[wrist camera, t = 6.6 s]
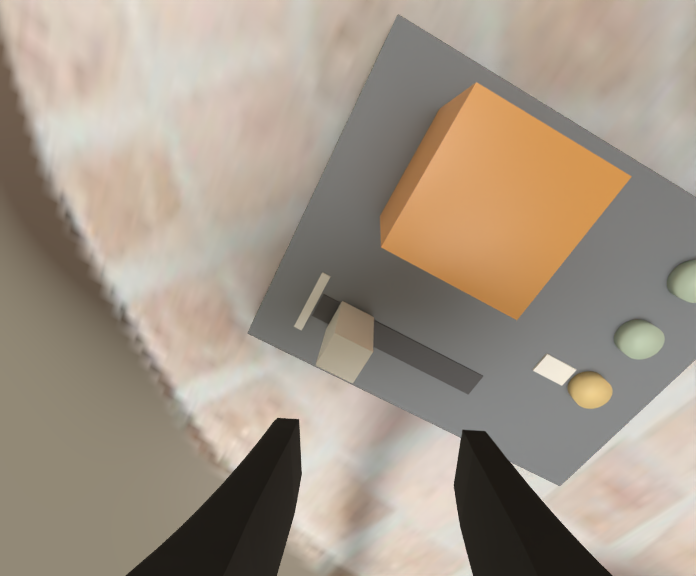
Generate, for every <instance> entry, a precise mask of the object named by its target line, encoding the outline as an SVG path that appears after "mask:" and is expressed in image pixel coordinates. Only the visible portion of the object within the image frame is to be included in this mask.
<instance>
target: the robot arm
mask: <svg viewBox="0 0 696 576" xmlns="http://www.w3.org/2000/svg"><path fill="white" fill-rule="evenodd" d="M301 475H302V471H301V450H300V429H299V419H286V418H277V419H276V420H275V421H274V422H273V423H272V425H271V426H270V427H269V429H268V430H267V431H266V432H265V434H264V435H263V436H262V438H261V439H260V440H259V441H258V443H257V444H256V445H255V446H254V448H253V449H252V450H251V451H250V453H249V454H248V455H247V456H246V457H245V459H244V460H243V461H242V462H241V463H240V464H239V466H238V467H237V468H236V469H235V470H234V471H233V472H232V474H231V475H230V476H229V477H228V478H227V479H226V480H225V482H224V483H223V484H222V485H221V486H220V487H219V488H218V489H217V490H216V491H215V492H214V493H213V494H212V496H211V497H210V498H209V499H208V500H207V501H206V502H205V503H204V504H203V505H202V506H201V507H200V508H199V509H198V510H197V511H196V512H195V513H194V514H193V515H192V516H191V517H190V518H189V519H188V520H187V521H186V522H185V523H184V524H183V525H182V526H181V527H180V528H179V529H178V530H177V531H176V532H175V533H173V534H172V535H171V536H170V537H169V538H168V539H167V540H166V541H165V542H164V543H163V544H162V545H161V546H159V547H158V548H157V549H156V550H155V551H154V552H153V553H151V554H150V555H149V556H148V557H147V558H146V559H144V560H143V561H142V562H141V563H140V564H139V565H137V566H136V567H135V568H134V569H133V570H132V571H131V572H129V573H128V574H127V575H126V576H277V573H278V569H279V566H280V562H281V559H282V556H283V552H284V549H285V545H286V542H287V538H288V535H289V531H290V528H291V524H292V521H293V517H294V513H295V508H296V503H297V498H298V492H299V487H300V481H301ZM454 490H455V497H456V504H457V510H458V516H459V522H460V527H461V531H462V535H463V539H464V543H465V547H466V551H467V554H468V558H469V562H470V566H471V570H472V573H473V576H612V575H611V574H610V573H609V572H608V571H607V570H606V569H605V568H604V567H603V566H602V565H601V564H600V563H599V562H598V561H597V560H596V559H595V558H594V557H593V556H592V555H591V554H590V553H589V552H588V551H587V550H586V549H585V548H584V546H583V545H582V544H581V543H580V542H579V541H578V540H577V539H576V538H575V537H574V536H573V535H572V534H571V533H570V531H569V530H568V529H567V528H566V527H565V526H564V525H563V524H562V523H561V522H560V521H559V519H558V518H557V517H556V516H555V515H554V514H553V513H552V512H551V510H550V509H549V508H548V507H547V506H546V505H545V503H544V502H543V501H542V500H541V499H540V498H539V496H538V495H537V494H536V493H535V492H534V491H533V489H532V488H531V487H530V486H529V485H528V484H527V482H526V481H525V480H524V479H523V477H522V476H521V475H520V474H519V473H518V471H517V470H516V469H515V468H514V466H513V465H512V464H511V463H510V461H509V460H508V459H507V458H506V456H505V455H504V454H503V452H502V451H501V450H500V449H499V447H498V446H497V445H496V443H495V442H494V441H493V440H492V438H491V437H490V436H489V435H488V433H487V432H486V431H477V430H462V435H461V442H460V448H459V455H458V461H457V468H456V474H455V481H454Z"/></svg>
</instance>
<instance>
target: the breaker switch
mask: <svg viewBox="0 0 696 576" xmlns="http://www.w3.org/2000/svg"><path fill="white" fill-rule="evenodd" d="M373 335H374V317H373V316H371V315H369V314H367V313H365V312H363V311H361V310H359V309H357V308H355V307H353V306H351V305H349V304H347V303H345V302H343V301H342V302H341V304H340V305H339V307H338V309H337V311H336V313H335V314H334V316H333V318H332V320H331V321H330V323H329V325H328V327H327V328H326V331H325V335H324V338H323V341H322V345H321V348H320V352H319V355H318V358H317V362H316V366H318V367H320V368H322V369H324V370H326V371H328V372H330V373H332V374H334V375H336V376H338V377H340V378H342V379H344V380H346V381H348V382H350V383H353V382H354V381H355V379H356V378H357V376H358V375H359V373H360V372H361V370H362V369H363V367H364V365H365V364H366V362H367V361H368V359H369V358H370V356H371V355H372V353H373Z"/></svg>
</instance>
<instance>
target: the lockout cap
mask: <svg viewBox="0 0 696 576" xmlns="http://www.w3.org/2000/svg"><path fill="white" fill-rule="evenodd" d="M631 177H632V176H630V175H629V174H627V173H625V172H624V171H622V170H620V169H619V168H617V167H615V166H614V165H612V164H610V163H609V162H607V161H605V160H604V159H602V158H601V157H599V156H597V155H596V154H594V153H592V152H591V151H589V150H587V149H586V148H584V147H582V146H581V145H579V144H578V143H576V142H574V141H573V140H571V139H569V138H568V137H566V136H564V135H563V134H561V133H559V132H558V131H556V130H554V129H553V128H551V127H550V126H548V125H546V124H545V123H543V122H541V121H540V120H538V119H536V118H535V117H533V116H531V115H530V114H528V113H527V112H525V111H523V110H522V109H520V108H518V107H517V106H515V105H513V104H512V103H510V102H508V101H507V100H505V99H503V98H502V97H500V96H499V95H497V94H495V93H494V92H492V91H490V90H489V89H487V88H485V87H484V86H482V85H480V84H479V83H477V82H476V83H474V84H473V85H472V86H470V87H469V88H468V89H466V90H465V91H463V92H462V93H461V94H459V95H458V96H456V97H455V98H454V99H452V100H451V101H450V102H448V103H447V104H445V105H444V106H443V107H441V108H440V109H439V111H438V112H437V114H436V116H435V118H434V120H433V121H432V123H431V125H430V127H429V129H428V130H427V132H426V134H425V136H424V138H423V139H422V141H421V143H420V145H419V147H418V148H417V150H416V152H415V154H414V156H413V157H412V159H411V161H410V163H409V165H408V166H407V168H406V170H405V172H404V174H403V175H402V177H401V179H400V181H399V183H398V184H397V186H396V188H395V190H394V192H393V193H392V195H391V197H390V199H389V201H388V202H387V204H386V206H385V208H384V209H383V211H382V213H381V215H380V233H381V248H383V249H385V250H387V251H389V252H391V253H392V254H394V255H396V256H398V257H400V258H402V259H404V260H406V261H407V262H409V263H411V264H413V265H415V266H417V267H419V268H420V269H422V270H424V271H426V272H428V273H430V274H432V275H433V276H435V277H437V278H439V279H441V280H443V281H445V282H447V283H448V284H450V285H452V286H454V287H456V288H458V289H460V290H461V291H463V292H465V293H467V294H469V295H471V296H473V297H474V298H476V299H478V300H480V301H482V302H484V303H486V304H487V305H489V306H491V307H493V308H495V309H497V310H499V311H501V312H502V313H504V314H506V315H508V316H510V317H512V318H514V319H515V320H518V318H519V317H520V316H521V315H522V313H523V312H524V311H525V310H526V308H527V307H528V306H529V305H530V303H531V302H532V301H533V300H534V298H535V297H536V296H537V295H538V293H539V292H540V291H541V290H542V288H543V287H544V286H545V285H546V283H547V282H548V281H549V280H550V278H551V277H552V276H553V275H554V273H555V272H556V271H557V270H558V268H559V267H560V266H561V265H562V263H563V262H564V261H565V260H566V258H567V257H568V256H569V255H570V253H571V252H572V251H573V250H574V248H575V247H576V246H577V245H578V243H579V242H580V241H581V239H582V238H583V237H584V236H585V234H586V233H587V232H588V231H589V229H590V228H591V227H592V226H593V224H594V223H595V222H596V221H597V219H598V218H599V217H600V216H601V214H602V213H603V212H604V211H605V209H606V208H607V207H608V206H609V204H610V203H611V202H612V201H613V199H614V198H615V197H616V196H617V194H618V193H619V192H620V191H621V189H622V188H623V187H624V186H625V184H626V183H627V182H628V181H629V179H630V178H631Z"/></svg>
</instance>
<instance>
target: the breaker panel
mask: <svg viewBox="0 0 696 576" xmlns="http://www.w3.org/2000/svg"><path fill="white" fill-rule="evenodd" d="M476 82H477V83H479V84H480V85H482V86H484V87H485V88H487V89H489V90H490V91H492V92H494V93H495V94H497V95H499V96H500V97H502V98H503V99H505V100H507V101H508V102H510V103H512V104H513V105H515V106H517V107H518V108H520V109H522V110H523V111H525V112H527V113H528V114H530V115H531V116H533V117H535V118H536V119H538V120H540V121H541V122H543V123H545V124H546V125H548V126H550V127H551V128H553V129H554V130H556V131H558V132H559V133H561V134H563V135H564V136H566V137H568V138H569V139H571V140H573V141H574V142H576V143H578V144H579V145H581V146H582V147H584V148H586V149H587V150H589V151H591V152H592V153H594V154H596V155H597V156H599V157H601V158H602V159H604V160H605V161H607V162H609V163H610V164H612V165H614V166H615V167H617V168H619V169H620V170H622V171H624V172H625V173H627V174H629V175H630V176H632V177H631V178H630V179H629V181H628V182H627V183H626V184H625V186H624V187H623V188H622V189H621V191H620V192H619V193H618V194H617V196H616V197H615V198H614V199H613V201H612V202H611V203H610V204H609V206H608V207H607V208H606V209H605V211H604V212H603V213H602V214H601V216H600V217H599V218H598V219H597V221H596V222H595V223H594V224H593V226H592V227H591V228H590V229H589V231H588V232H587V233H586V234H585V236H584V237H583V238H582V239H581V241H580V242H579V243H578V245H577V246H576V247H575V248H574V250H573V251H572V252H571V253H570V255H569V256H568V257H567V258H566V260H565V261H564V262H563V263H562V265H561V266H560V267H559V268H558V270H557V271H556V272H555V273H554V275H553V276H552V277H551V278H550V280H549V281H548V282H547V283H546V285H545V286H544V287H543V288H542V290H541V291H540V292H539V293H538V295H537V296H536V297H535V298H534V300H533V301H532V302H531V303H530V305H529V306H528V307H527V308H526V310H525V311H524V312H523V313H522V315H521V316H520V317H519V318H518V320H515V319H514V318H512V317H510V316H508V315H506V314H504V313H502V312H501V311H499V310H497V309H495V308H493V307H491V306H489V305H487V304H486V303H484V302H482V301H480V300H478V299H476V298H474V297H473V296H471V295H469V294H467V293H465V292H463V291H461V290H460V289H458V288H456V287H454V286H452V285H450V284H448V283H447V282H445V281H443V280H441V279H439V278H437V277H435V276H433V275H432V274H430V273H428V272H426V271H424V270H422V269H420V268H419V267H417V266H415V265H413V264H411V263H409V262H407V261H406V260H404V259H402V258H400V257H398V256H396V255H394V254H392V253H391V252H389V251H387V250H385V249H383V248H381V233H380V215H381V213H382V211H383V209H384V208H385V206H386V204H387V202H388V201H389V199H390V197H391V195H392V193H393V192H394V190H395V188H396V186H397V184H398V183H399V181H400V179H401V177H402V175H403V174H404V172H405V170H406V168H407V166H408V165H409V163H410V161H411V159H412V157H413V156H414V154H415V152H416V150H417V148H418V147H419V145H420V143H421V141H422V139H423V138H424V136H425V134H426V132H427V130H428V129H429V127H430V125H431V123H432V121H433V120H434V118H435V116H436V114H437V112H438V111H439V109H440V108H441V107H443V106H444V105H445V104H447V103H448V102H450V101H451V100H452V99H454V98H455V97H456V96H458V95H459V94H461V93H462V92H463V91H465V90H466V89H468V88H469V87H470V86H472V85H473V84H474V83H476ZM342 301H343V302H345V303H347V304H349V305H351V306H353V307H355V308H357V309H359V310H361V311H363V312H365V313H367V314H369V315H371V316H373V317H374V335H373V353H372V355H371V356H370V358H369V359H368V361H367V362H366V364H365V365H364V367H363V369H362V370H361V372H360V373H359V375H358V376H357V378H356V379H355V381H354V382H353V383H350V382H348V381H346V380H344V379H342V378H340V377H338V376H336V375H334V374H332V373H330V372H328V371H326V370H324V369H322V368H320V367H318V366H316V362H317V358H318V355H319V352H320V348H321V345H322V341H323V338H324V335H325V331H326V328H327V327H328V325H329V323H330V321H331V320H332V318H333V316H334V314H335V313H336V311H337V309H338V307H339V305H340V304H341V302H342ZM248 334H250V335H252V336H254V337H256V338H258V339H260V340H262V341H264V342H266V343H268V344H270V345H272V346H274V347H276V348H278V349H280V350H282V351H284V352H286V353H288V354H290V355H293V356H295V357H297V358H299V359H301V360H303V361H305V362H307V363H309V364H311V365H313V366H315V367H317V368H319V369H321V370H323V371H325V372H327V373H329V374H331V375H333V376H335V377H338V378H340V379H342V380H344V381H346V382H348V383H350V384H352V385H354V386H356V387H358V388H360V389H362V390H364V391H366V392H368V393H370V394H372V395H374V396H376V397H378V398H380V399H383V400H385V401H387V402H389V403H391V404H393V405H395V406H397V407H399V408H401V409H403V410H405V411H407V412H409V413H411V414H413V415H415V416H417V417H419V418H421V419H423V420H425V421H428V422H430V423H432V424H434V425H436V426H438V427H440V428H442V429H444V430H446V431H448V432H450V433H452V434H454V435H456V436H458V437H460V438H461V435H462V430H477V431H486V432H487V433H488V435H489V436H490V437H491V438H492V440H493V441H494V442H495V443H496V445H497V446H498V447H499V449H500V450H501V451H502V452H503V454H504V455H505V456H506V458H507V459H508V460H509V461H510V462H511V463H513V464H516V465H518V466H520V467H522V468H524V469H526V470H528V471H530V472H532V473H534V474H536V475H538V476H540V477H542V478H544V479H546V480H548V481H550V482H552V483H554V484H556V485H558V486H561V485H562V484H563V483H564V482H565V481H566V480H567V479H568V478H569V477H570V476H571V475H573V474H574V473H575V472H576V471H577V470H578V469H579V468H580V467H581V466H582V465H583V464H584V463H585V462H586V461H588V460H589V459H590V458H591V457H592V456H593V455H594V454H595V453H596V452H597V451H598V450H599V449H600V448H601V447H603V446H604V445H605V444H606V443H607V442H608V441H609V440H610V439H611V438H612V437H613V436H614V435H615V434H616V433H618V432H619V431H620V430H621V429H622V428H623V427H624V426H625V425H626V424H627V423H628V422H629V421H630V420H631V419H633V418H634V417H635V416H636V415H637V414H638V413H639V412H640V411H641V410H642V409H643V408H644V407H645V406H646V405H648V404H649V403H650V402H651V401H652V400H653V399H654V398H655V397H656V396H657V395H658V394H659V393H660V392H661V391H663V390H664V389H665V388H666V387H667V386H668V385H669V384H670V383H671V382H672V381H673V380H674V379H675V378H676V377H677V376H679V375H680V374H681V373H682V372H683V371H684V370H685V369H686V368H687V367H688V366H689V365H690V364H691V363H692V362H694V361H695V360H696V197H695V196H693V195H692V194H690V193H688V192H687V191H685V190H683V189H682V188H680V187H678V186H677V185H675V184H674V183H672V182H670V181H669V180H667V179H665V178H664V177H662V176H661V175H659V174H657V173H656V172H654V171H652V170H651V169H649V168H648V167H646V166H644V165H643V164H641V163H639V162H638V161H636V160H635V159H633V158H631V157H630V156H628V155H626V154H625V153H623V152H622V151H620V150H618V149H617V148H615V147H613V146H612V145H610V144H608V143H607V142H605V141H604V140H602V139H600V138H599V137H597V136H595V135H594V134H592V133H591V132H589V131H587V130H586V129H584V128H582V127H581V126H579V125H578V124H576V123H574V122H573V121H571V120H569V119H568V118H566V117H565V116H563V115H561V114H560V113H558V112H556V111H555V110H553V109H552V108H550V107H548V106H547V105H545V104H543V103H542V102H540V101H538V100H537V99H535V98H534V97H532V96H530V95H529V94H527V93H525V92H524V91H522V90H521V89H519V88H517V87H516V86H514V85H512V84H511V83H509V82H508V81H506V80H504V79H503V78H501V77H499V76H498V75H496V74H495V73H493V72H491V71H490V70H488V69H486V68H485V67H483V66H482V65H480V64H478V63H477V62H475V61H473V60H472V59H470V58H468V57H467V56H465V55H464V54H462V53H460V52H459V51H457V50H455V49H454V48H452V47H451V46H449V45H447V44H446V43H444V42H442V41H441V40H439V39H438V38H436V37H434V36H433V35H431V34H429V33H428V32H426V31H425V30H423V29H421V28H420V27H418V26H416V25H415V24H413V23H411V22H410V21H408V20H407V19H405V18H403V17H402V16H400V15H397V17H396V19H395V21H394V23H393V26H392V28H391V30H390V32H389V34H388V36H387V38H386V40H385V43H384V45H383V47H382V49H381V51H380V53H379V55H378V57H377V59H376V62H375V64H374V66H373V68H372V70H371V72H370V74H369V76H368V79H367V81H366V83H365V85H364V87H363V89H362V91H361V93H360V96H359V98H358V100H357V102H356V104H355V106H354V108H353V110H352V112H351V115H350V117H349V119H348V121H347V123H346V125H345V127H344V129H343V132H342V134H341V136H340V138H339V140H338V142H337V144H336V146H335V149H334V151H333V153H332V155H331V157H330V159H329V161H328V163H327V165H326V168H325V170H324V172H323V174H322V176H321V178H320V180H319V182H318V185H317V187H316V189H315V191H314V193H313V195H312V197H311V199H310V202H309V204H308V206H307V208H306V210H305V212H304V214H303V216H302V218H301V221H300V223H299V225H298V227H297V229H296V231H295V233H294V235H293V238H292V240H291V242H290V244H289V246H288V248H287V250H286V252H285V255H284V257H283V259H282V261H281V263H280V265H279V267H278V269H277V271H276V274H275V276H274V278H273V280H272V282H271V284H270V286H269V288H268V291H267V293H266V295H265V297H264V299H263V301H262V303H261V305H260V308H259V310H258V312H257V314H256V316H255V318H254V320H253V322H252V324H251V327H250V329H249V331H248Z"/></svg>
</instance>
